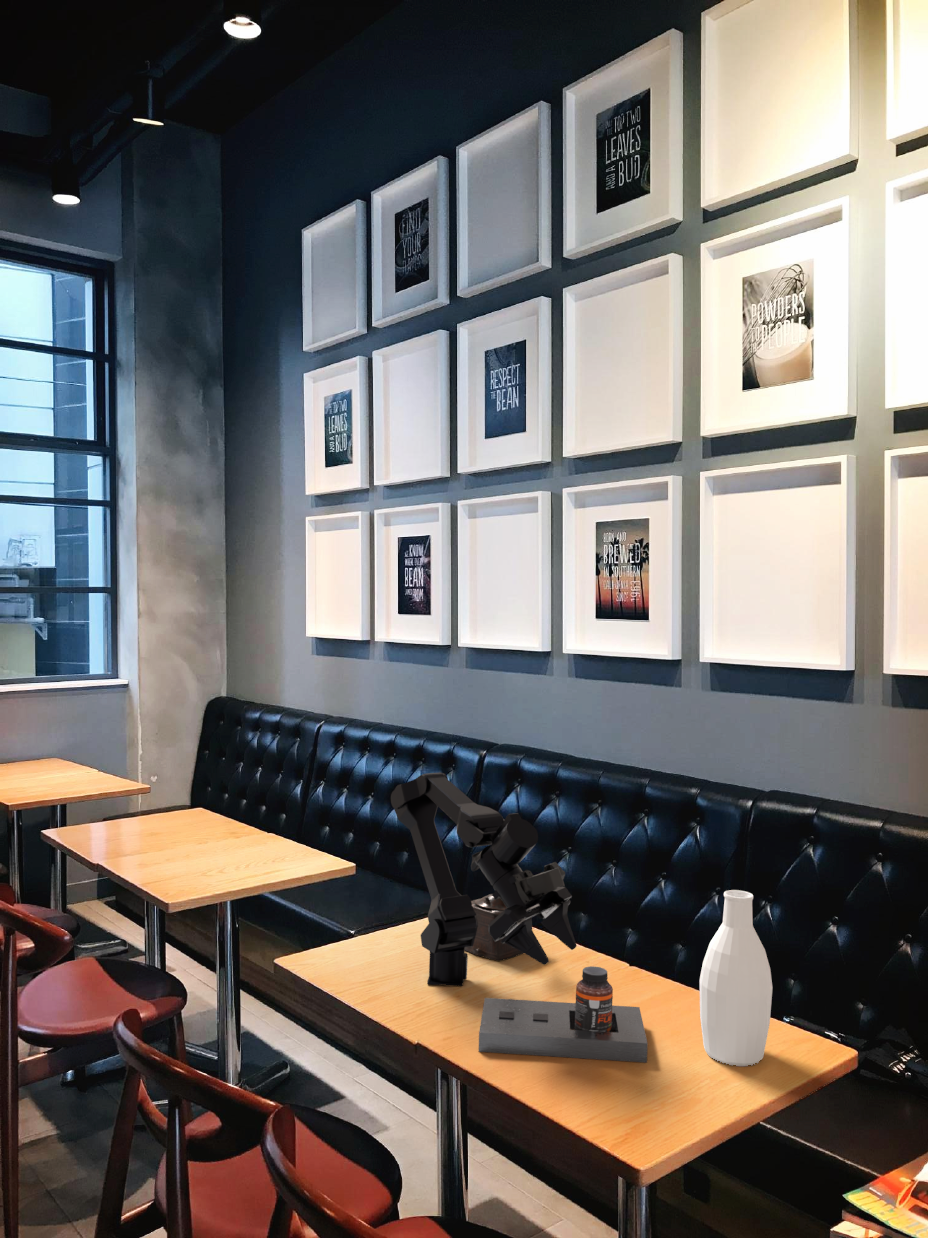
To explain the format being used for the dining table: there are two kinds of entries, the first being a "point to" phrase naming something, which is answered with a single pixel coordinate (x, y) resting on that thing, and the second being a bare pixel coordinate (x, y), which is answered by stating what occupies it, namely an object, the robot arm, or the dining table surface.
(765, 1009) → the bottle
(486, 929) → the brown coffee grinder
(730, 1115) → the dining table surface
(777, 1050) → the dining table surface
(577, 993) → the supplement bottle
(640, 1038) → the grey fixture plate
